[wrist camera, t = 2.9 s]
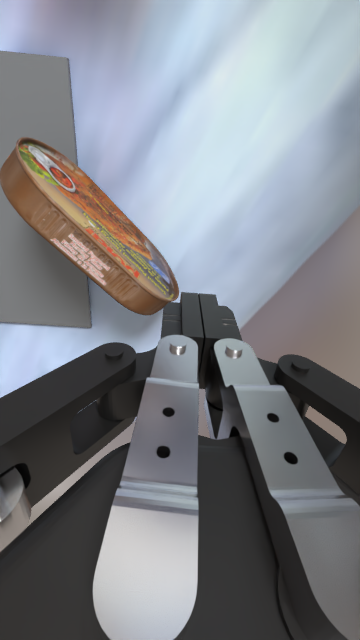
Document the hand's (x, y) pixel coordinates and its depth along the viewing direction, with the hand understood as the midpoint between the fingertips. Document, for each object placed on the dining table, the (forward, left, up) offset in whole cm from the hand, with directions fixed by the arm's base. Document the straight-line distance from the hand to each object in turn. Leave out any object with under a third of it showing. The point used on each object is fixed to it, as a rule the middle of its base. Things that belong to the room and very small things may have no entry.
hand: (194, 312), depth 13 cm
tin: (+7, 0, -15) cm, 17 cm away
